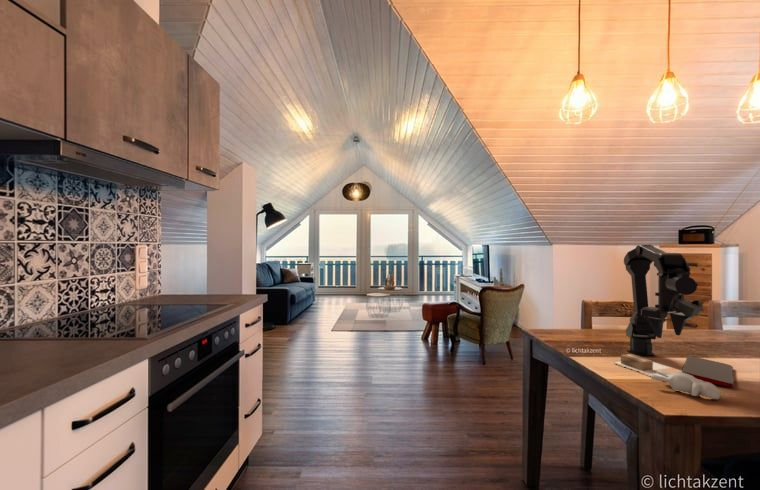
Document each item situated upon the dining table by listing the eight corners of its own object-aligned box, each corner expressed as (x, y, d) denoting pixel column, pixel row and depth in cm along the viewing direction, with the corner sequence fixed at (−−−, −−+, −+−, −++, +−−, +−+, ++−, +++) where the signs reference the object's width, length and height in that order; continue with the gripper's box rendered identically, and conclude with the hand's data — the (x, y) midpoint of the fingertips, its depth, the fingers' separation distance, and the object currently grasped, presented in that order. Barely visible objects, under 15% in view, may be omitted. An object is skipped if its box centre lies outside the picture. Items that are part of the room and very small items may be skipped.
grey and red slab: (733, 364, 125) (734, 384, 107) (732, 369, 125) (733, 389, 107) (687, 354, 133) (680, 371, 115) (686, 358, 133) (680, 375, 115)
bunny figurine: (717, 391, 96) (650, 369, 108) (714, 409, 97) (648, 385, 109) (724, 383, 102) (660, 362, 114) (721, 400, 102) (658, 378, 114)
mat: (614, 364, 130) (614, 362, 130) (643, 360, 133) (643, 358, 133) (663, 381, 113) (663, 379, 113) (694, 376, 117) (694, 374, 117)
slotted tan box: (620, 363, 128) (620, 354, 128) (630, 362, 130) (630, 353, 130) (642, 371, 121) (642, 361, 121) (652, 369, 122) (652, 360, 122)
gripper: (676, 295, 110) (675, 345, 111) (715, 292, 116) (715, 340, 117) (640, 290, 121) (639, 336, 121) (677, 288, 127) (677, 331, 127)
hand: (668, 336), depth 121 cm, fingers open, 9 cm apart
